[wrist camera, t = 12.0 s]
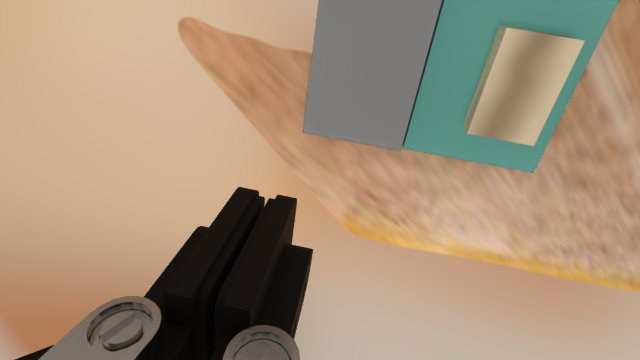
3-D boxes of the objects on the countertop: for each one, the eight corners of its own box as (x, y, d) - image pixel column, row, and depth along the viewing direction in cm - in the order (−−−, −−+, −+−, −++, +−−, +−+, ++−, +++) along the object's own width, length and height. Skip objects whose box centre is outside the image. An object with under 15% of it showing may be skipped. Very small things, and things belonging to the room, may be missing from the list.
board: (455, -63, 28) (460, -66, 26) (399, 143, 37) (400, 151, 35) (332, -81, 29) (329, -86, 27) (306, 126, 38) (302, 132, 36)
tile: (572, 37, 29) (584, 40, 27) (525, 137, 33) (533, 146, 32) (499, 25, 29) (506, 27, 28) (462, 126, 34) (466, 133, 32)
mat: (628, -38, 27) (638, -39, 26) (528, 167, 36) (533, 172, 35) (459, -62, 28) (462, -64, 27) (402, 143, 37) (403, 148, 36)
